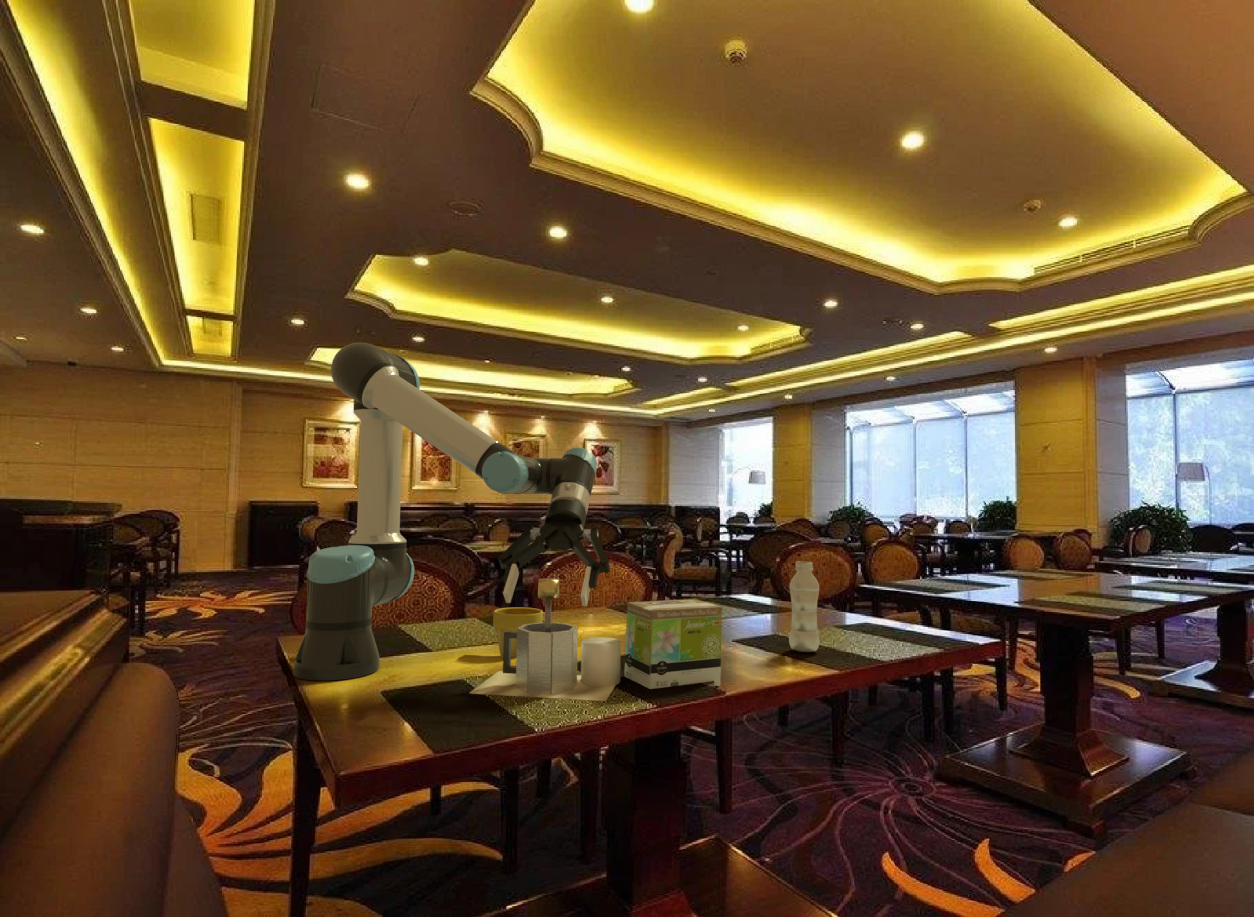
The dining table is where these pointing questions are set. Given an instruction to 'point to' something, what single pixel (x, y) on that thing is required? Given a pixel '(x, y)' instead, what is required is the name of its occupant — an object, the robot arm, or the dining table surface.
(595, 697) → the serving board
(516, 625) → the plant pot
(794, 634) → the plastic bottle
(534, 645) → the silver faceted mug
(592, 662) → the white cylindrical canister
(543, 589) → the plunger
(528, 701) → the dining table surface
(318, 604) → the robot arm
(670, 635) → the tea box
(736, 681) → the dining table surface
